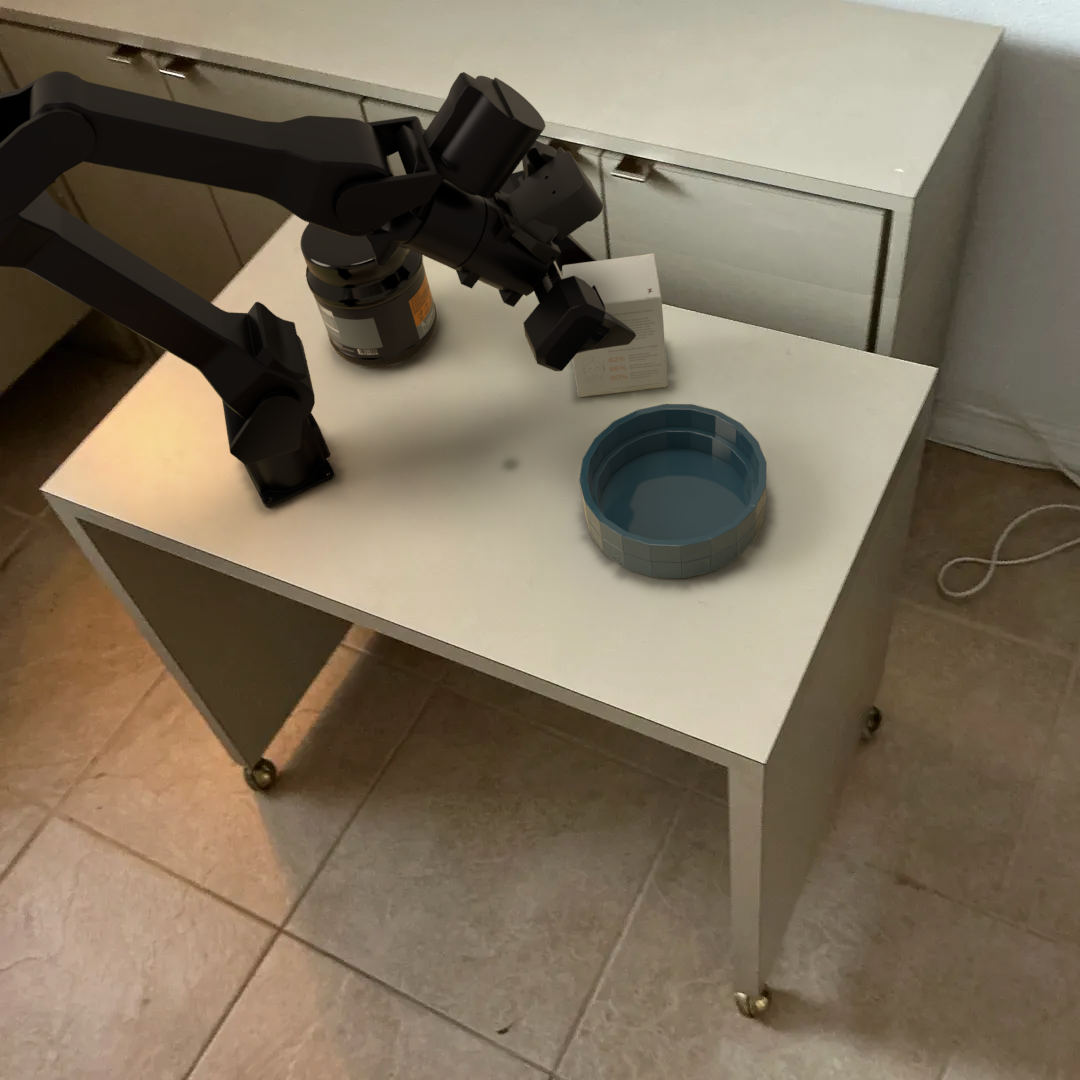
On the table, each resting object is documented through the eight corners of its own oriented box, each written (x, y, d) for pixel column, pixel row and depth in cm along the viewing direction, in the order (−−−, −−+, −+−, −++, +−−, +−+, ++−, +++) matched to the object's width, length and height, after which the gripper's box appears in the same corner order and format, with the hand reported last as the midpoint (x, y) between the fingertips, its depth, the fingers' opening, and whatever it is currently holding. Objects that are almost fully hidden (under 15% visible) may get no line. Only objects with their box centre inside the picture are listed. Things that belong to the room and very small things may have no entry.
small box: (662, 344, 101) (657, 251, 93) (668, 389, 98) (663, 296, 89) (574, 354, 102) (560, 262, 93) (576, 399, 98) (563, 307, 90)
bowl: (644, 610, 84) (640, 576, 81) (555, 488, 93) (548, 453, 89) (801, 527, 87) (804, 490, 84) (701, 416, 95) (700, 378, 92)
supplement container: (453, 299, 108) (427, 195, 99) (422, 377, 103) (391, 274, 93) (352, 293, 111) (318, 191, 101) (316, 369, 105) (276, 267, 96)
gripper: (563, 219, 74) (720, 301, 84) (494, 78, 86) (639, 165, 95) (470, 340, 80) (627, 404, 89) (416, 193, 91) (560, 264, 101)
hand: (614, 303), depth 94 cm, fingers open, 9 cm apart
